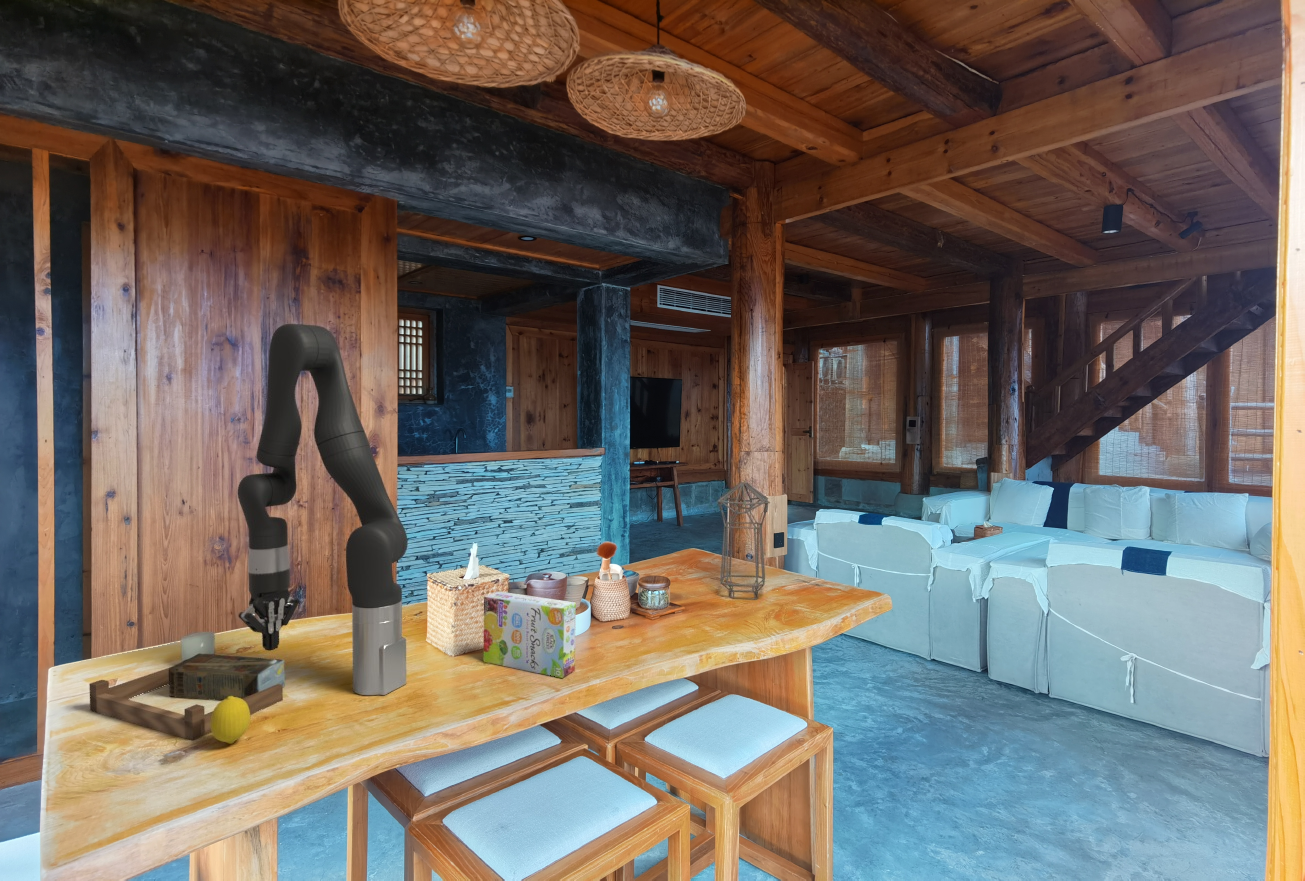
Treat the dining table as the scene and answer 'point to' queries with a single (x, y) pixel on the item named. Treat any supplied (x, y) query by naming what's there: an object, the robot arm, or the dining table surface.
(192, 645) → the grey rounded cylinder
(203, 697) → the beverage carton
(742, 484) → the geometric lantern
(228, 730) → the lemon
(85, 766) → the dining table surface
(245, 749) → the dining table surface
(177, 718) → the frame
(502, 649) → the snack box
